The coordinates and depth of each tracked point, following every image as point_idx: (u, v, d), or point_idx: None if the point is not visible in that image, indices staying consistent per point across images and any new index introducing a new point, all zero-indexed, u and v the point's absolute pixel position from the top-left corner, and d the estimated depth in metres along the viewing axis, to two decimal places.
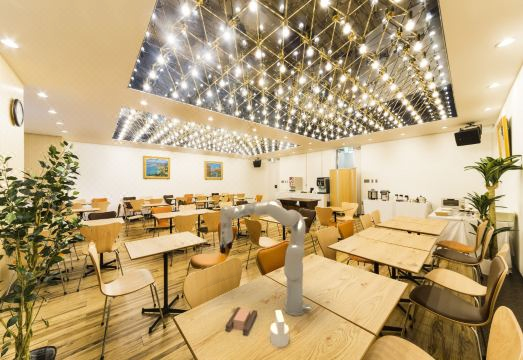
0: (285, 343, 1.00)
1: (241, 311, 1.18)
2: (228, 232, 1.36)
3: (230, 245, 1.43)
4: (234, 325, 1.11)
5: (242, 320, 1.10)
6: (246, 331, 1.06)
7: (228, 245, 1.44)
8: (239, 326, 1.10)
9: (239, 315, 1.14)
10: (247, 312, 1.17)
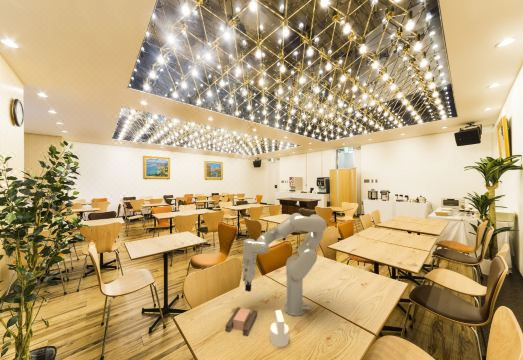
0: (285, 343, 1.00)
1: (241, 311, 1.18)
2: (251, 269, 1.23)
3: None
4: (234, 325, 1.11)
5: (242, 320, 1.10)
6: (246, 331, 1.06)
7: None
8: (239, 326, 1.10)
9: (239, 315, 1.14)
10: (247, 312, 1.17)
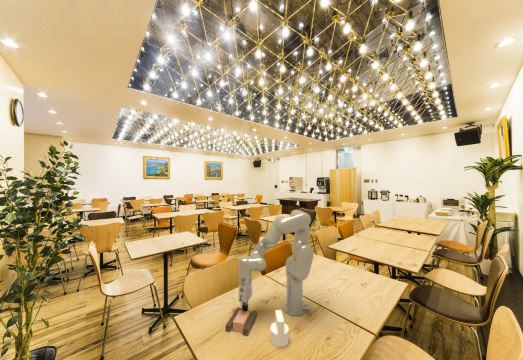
0: (285, 343, 1.00)
1: (240, 313, 1.16)
2: (247, 289, 1.17)
3: None
4: (233, 328, 1.09)
5: (242, 322, 1.09)
6: (246, 331, 1.06)
7: None
8: (238, 328, 1.09)
9: (239, 318, 1.12)
10: (246, 314, 1.15)
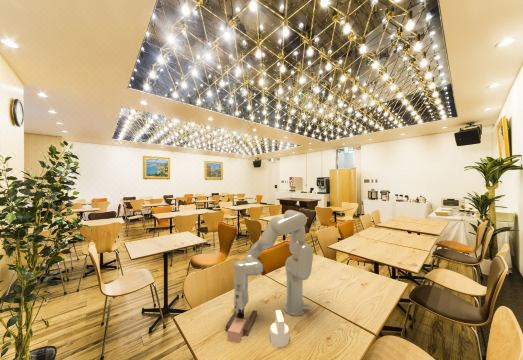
0: (285, 343, 1.00)
1: (236, 321, 1.10)
2: (243, 295, 1.10)
3: None
4: (229, 337, 1.03)
5: (237, 331, 1.02)
6: (246, 331, 1.06)
7: None
8: (234, 337, 1.02)
9: (234, 326, 1.06)
10: (243, 322, 1.09)
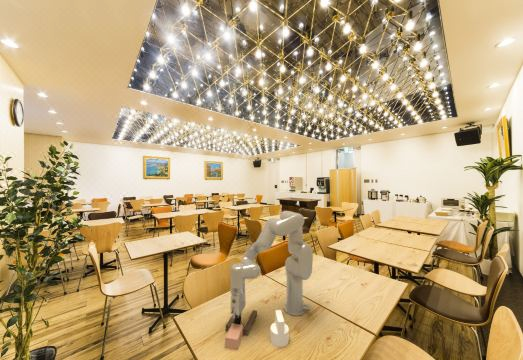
0: (285, 343, 1.00)
1: (233, 327, 1.05)
2: (240, 300, 1.06)
3: None
4: (226, 344, 0.99)
5: (235, 338, 0.98)
6: (246, 331, 1.06)
7: None
8: (231, 345, 0.98)
9: (232, 332, 1.02)
10: (240, 328, 1.05)
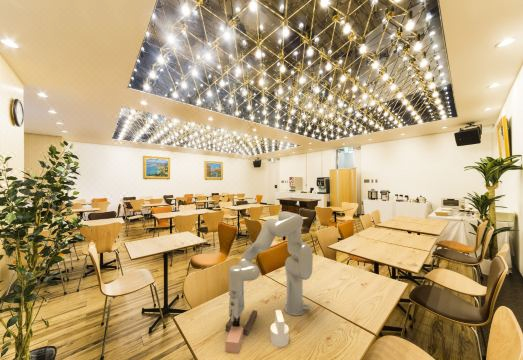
0: (285, 343, 1.00)
1: (233, 330, 1.03)
2: (239, 302, 1.04)
3: None
4: (226, 348, 0.96)
5: (236, 341, 0.96)
6: (246, 331, 1.06)
7: None
8: (232, 348, 0.96)
9: (232, 336, 1.00)
10: (240, 330, 1.03)
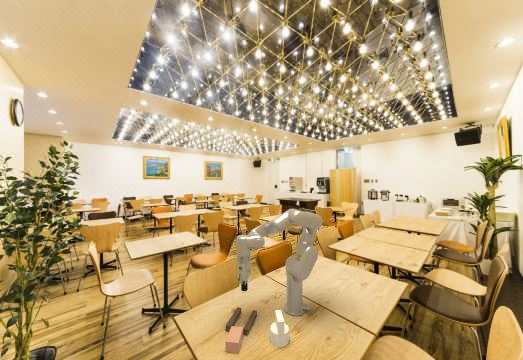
0: (285, 343, 1.00)
1: (233, 330, 1.03)
2: (246, 267, 1.14)
3: None
4: (226, 348, 0.96)
5: (236, 341, 0.96)
6: (246, 331, 1.06)
7: None
8: (232, 348, 0.96)
9: (232, 336, 0.99)
10: (240, 330, 1.03)
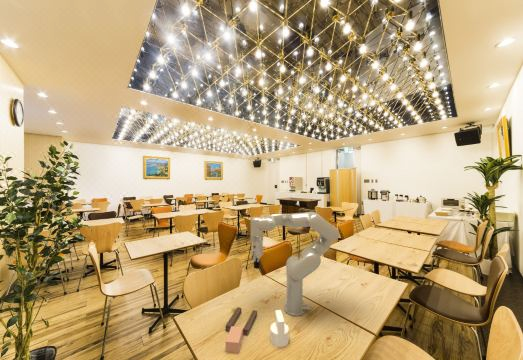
0: (285, 343, 1.00)
1: (233, 330, 1.03)
2: (259, 246, 1.24)
3: None
4: (227, 348, 0.96)
5: (236, 341, 0.96)
6: (246, 331, 1.06)
7: None
8: (232, 348, 0.96)
9: (232, 336, 0.99)
10: (240, 330, 1.03)
